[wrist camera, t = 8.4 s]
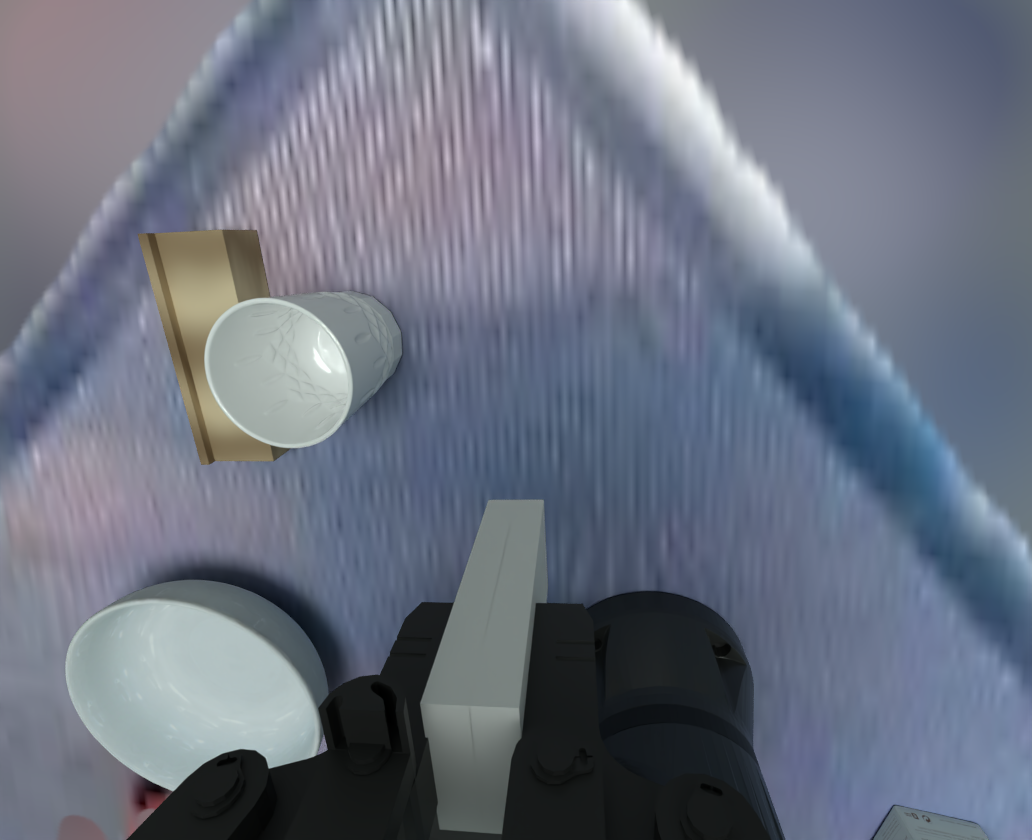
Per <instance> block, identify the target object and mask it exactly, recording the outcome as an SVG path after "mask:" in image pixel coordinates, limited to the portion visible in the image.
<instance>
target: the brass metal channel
mask: <svg viewBox="0 0 1032 840" xmlns="http://www.w3.org/2000/svg"><path fill="white" fill-rule="evenodd" d="M138 237H139V241H140V245H141V248H142V252H143V255H144V259H145V263H146V266H147V270H148V274H149V277H150V281H151V284H152V288H153V292H154V295H155V299H156V302H157V306H158V310H159V313H160V317H161V321H162V324H163V328H164V331H165V335H166V339H167V342H168V346H169V350H170V353H171V357H172V360H173V364H174V368H175V371H176V375H177V379H178V382H179V386H180V389H181V393H182V397H183V400H184V404H185V407H186V411H187V415H188V418H189V422H190V426H191V429H192V433H193V436H194V440H195V444H196V447H197V451H198V455H199V458H200V462H201V465H209V464H211V463H213V462H214V461H275V460H276V459H277V458H279V457H280V456H281V455H283V454H284V453H285V452H287V451H288V450H290V449H291V448H282V447H277V446H273V445H269V444H266V443H264V442H261V441H259V440H257V439H255V438H253V437H251V436H250V435H248V434H246V433H245V432H244V431H242V430H241V429H240V428H238V427H237V426H236V425H235V424H234V423H233V422H232V421H231V420H230V419H229V418H228V417H227V416H226V415H225V413H224V412H223V411H222V409H221V408H220V407H219V405H218V403H217V402H216V400H215V398H214V396H213V394H212V392H211V390H210V387H209V384H208V381H207V377H206V372H205V364H204V354H205V346H206V342H207V338H208V335H209V333H210V331H211V329H212V327H213V325H214V324H215V322H216V321H217V319H218V318H219V317H220V316H221V315H222V314H223V313H224V312H225V311H227V310H228V309H229V308H231V307H232V306H234V305H236V304H238V303H240V302H243V301H246V300H250V299H255V298H265V297H270V294H269V289H268V285H267V280H266V275H265V270H264V265H263V260H262V255H261V250H260V245H259V240H258V235H257V230H208V231H190V232H172V233H155V234H154V233H145V234H138Z"/></svg>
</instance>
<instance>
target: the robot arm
mask: <svg viewBox="0 0 1032 840" xmlns="http://www.w3.org/2000/svg"><path fill="white" fill-rule="evenodd" d="M547 590H548V579H547V558H546V538H545V517H544V500H488V503H487V506H486V509H485V512H484V515H483V518H482V521H481V524H480V527H479V530H478V533H477V536H476V539H475V542H474V545H473V548H472V551H471V554H470V557H469V560H468V563H467V566H466V569H465V572H464V575H463V578H462V581H461V584H460V587H459V590H458V593H457V596H456V599H455V602H454V603H432V602H422V603H421V604H420V605H419V606H418V607H417V608H416V609H415V610H414V611H412V612H411V613H410V614H409V615H408V616H407V617H406V618H405V621H404V623H403V625H402V627H401V629H400V632H399V634H398V636H397V641H395V643H394V645H393V647H392V649H391V652H390V657H388V658H387V660H386V663H385V665H384V667H383V669H382V671H381V674H380V675H370V676H362V677H358V678H356V679H353V680H351V681H348V682H346V683H343V684H342V685H341V686H339V687H338V688H337V689H335V690H334V691H333V692H331V693H330V694H329V695H328V696H327V697H326V699H325V700H324V701H323V702H322V704H321V705H320V706H319V708H318V710H319V714H320V719H321V723H322V727H323V731H324V735H325V740H326V744H327V748H328V750H327V751H325V752H324V753H322V754H319V755H317V756H314V757H311V758H308V759H304V760H301V761H297V762H293V763H289V764H285V765H281V766H277V767H273V768H268V764H267V761H266V758H265V757H264V756H263V755H261V754H260V753H258V752H257V751H256V750H247V749H238V750H234V751H230V752H226V753H222V754H221V755H219V756H217V757H215V758H213V759H211V760H209V761H207V762H206V763H204V764H203V765H201V766H200V767H199V768H198V769H197V770H195V771H194V772H193V773H192V774H191V775H189V776H188V777H187V778H186V779H185V780H184V781H183V782H182V783H181V784H180V785H179V786H178V787H177V788H176V789H175V790H174V791H173V792H172V793H171V794H170V795H169V796H168V798H167V799H166V800H165V801H164V802H163V803H162V804H161V805H160V806H159V807H158V808H157V809H156V810H155V811H154V812H153V813H152V814H151V815H150V816H149V817H148V818H147V819H146V820H145V821H144V822H143V824H141V825H140V826H139V827H138V828H137V829H136V831H135V832H134V833H133V834H132V835H131V836H130V837H129V838H128V839H127V840H785V837H784V834H783V832H782V829H781V826H780V823H779V820H778V817H777V815H776V812H775V809H774V806H773V803H772V801H771V798H770V795H769V792H768V789H767V786H766V784H765V781H764V778H763V775H762V773H761V770H760V767H759V764H758V761H757V758H756V756H755V753H754V750H753V708H754V685H753V677H752V673H751V668H750V665H749V663H748V660H747V658H746V655H745V653H744V650H743V648H742V645H741V643H740V641H739V639H738V637H737V635H736V634H735V632H734V631H733V629H732V628H731V627H730V626H729V624H728V623H727V622H726V621H725V620H724V619H722V618H721V617H720V616H719V615H718V614H716V613H715V612H714V611H712V610H711V609H709V608H707V607H706V606H704V605H702V604H700V603H698V602H696V601H693V600H690V599H688V598H685V597H681V596H677V595H673V594H667V593H658V592H639V593H630V594H625V595H620V596H616V597H613V598H610V599H607V600H605V601H602V602H600V603H598V604H596V605H594V606H593V607H591V608H589V609H588V610H586V609H585V607H584V606H583V604H560V603H547Z"/></svg>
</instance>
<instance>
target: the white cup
mask: <svg viewBox="0 0 1032 840" xmlns="http://www.w3.org/2000/svg"><path fill="white" fill-rule="evenodd" d="M401 356H402V338H401V331H400V329H399V327H398V325H397V323H396V321H395V319H394V317H393V315H392V313H391V312H390V311H389V310H388V309H387V308H386V307H385V306H383V305H382V304H381V303H380V302H379V301H377V300H376V299H375V298H374V297H372V296H368V295H365V294H361V293H358V292H354V291H344V292H315V293H302V294H293V295H284V296H275V297H265V298H255V299H250V300H246V301H243V302H240V303H238V304H236V305H234V306H232V307H231V308H229V309H228V310H227V311H225V312H224V313H223V314H222V315H221V316H220V317H219V318H218V319H217V321H216V322H215V324H214V325H213V327H212V329H211V331H210V333H209V335H208V338H207V342H206V346H205V354H204V364H205V372H206V377H207V381H208V384H209V387H210V390H211V392H212V394H213V396H214V398H215V400H216V402H217V403H218V405H219V407H220V408H221V409H222V411H223V412H224V413H225V415H226V416H227V417H228V418H229V419H230V420H231V421H232V422H233V423H234V424H235V425H236V426H237V427H238V428H240V429H241V430H242V431H244V432H245V433H246V434H248V435H250V436H251V437H253V438H255V439H257V440H259V441H261V442H264V443H266V444H269V445H273V446H277V447H282V448H303V447H308V446H312V445H315V444H317V443H319V442H322V441H323V440H325V439H327V438H328V437H330V436H331V435H332V434H333V433H334V432H335V431H336V430H338V429H339V428H340V427H341V426H342V425H343V424H344V423H345V422H346V421H347V420H348V419H349V418H350V417H351V416H352V415H353V414H354V413H355V412H357V411H358V410H359V409H360V408H361V407H362V406H363V405H364V404H365V403H366V402H367V401H368V400H369V399H370V398H371V397H372V396H373V395H374V394H375V393H376V392H377V391H378V390H379V389H380V387H381V386H382V385H383V383H384V382H385V381H386V380H387V379H388V378H389V377H390V376H391V375H393V374H394V372H395V370H396V367H397V365H398V363H399V361H400V358H401Z"/></svg>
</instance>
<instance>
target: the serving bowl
mask: <svg viewBox="0 0 1032 840" xmlns="http://www.w3.org/2000/svg"><path fill="white" fill-rule="evenodd" d="M65 674H66V682H67V686H68V690H69V694H70V697H71V700H72V702H73V705H74V707H75V709H76V711H77V713H78V715H79V716H80V718H81V720H82V721H83V723H84V724H85V726H86V727H87V728H88V730H89V731H90V732H91V734H92V735H93V736H94V737H95V738H96V739H97V740H98V741H99V742H100V744H101V745H102V746H103V747H104V748H105V749H107V750H108V751H109V752H110V753H111V754H112V755H113V756H114V757H115V758H117V759H118V760H119V761H120V762H121V763H123V764H124V765H126V766H127V767H128V768H130V769H131V770H133V771H134V772H136V773H137V774H139V775H141V776H142V777H144V778H146V779H148V780H150V781H151V782H153V783H155V784H158V785H160V786H162V787H164V788H167V789H169V790H172V791H174V790H175V789H176V788H177V787H178V786H179V785H180V784H181V783H182V782H183V781H184V780H185V779H186V778H187V777H188V776H189V775H191V774H192V773H193V772H194V771H195V770H197V769H198V768H199V767H200V766H201V765H203V764H204V763H206V762H207V761H209V760H211V759H213V758H215V757H217V756H219V755H221V754H222V753H226V752H230V751H234V750H238V749H247V750H256V751H257V752H258V753H260V754H261V755H263V756H264V757H265V758H266V761H267V764H268V768H273V767H277V766H281V765H285V764H289V763H293V762H297V761H301V760H304V759H308V758H311V757H314V756H317V753H318V751H319V748H320V744H321V741H322V738H323V735H324V731H323V727H322V723H321V719H320V714H319V710H318V708H319V706H320V705H321V704H322V702H323V701H324V700H325V699H326V697H327V696H328V695H329V692H328V684H327V679H326V674H325V671H324V668H323V665H322V662H321V660H320V657H319V655H318V653H317V651H316V649H315V647H314V646H313V644H312V642H311V641H310V639H309V638H308V636H307V635H306V634H305V632H304V631H303V630H302V628H301V627H300V626H299V625H298V624H297V623H296V622H295V621H294V620H293V619H292V618H291V617H290V616H289V615H288V614H286V613H285V612H284V611H283V610H281V609H280V608H279V607H277V606H276V605H274V604H273V603H271V602H270V601H268V600H266V599H265V598H263V597H261V596H259V595H257V594H255V593H253V592H251V591H248V590H245V589H243V588H240V587H237V586H234V585H230V584H226V583H221V582H215V581H207V580H179V581H172V582H165V583H161V584H156V585H153V586H150V587H146V588H143V589H141V590H138V591H136V592H133V593H131V594H129V595H127V596H125V597H123V598H121V599H119V600H117V601H115V602H114V603H112V604H110V605H109V606H107V607H105V608H104V609H102V610H101V611H99V612H97V613H96V614H94V615H93V616H92V617H91V618H89V619H88V620H87V621H86V622H85V623H84V624H83V625H82V626H81V627H80V628H79V630H78V631H77V633H76V634H75V636H74V637H73V639H72V641H71V643H70V646H69V649H68V652H67V657H66V664H65Z"/></svg>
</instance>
